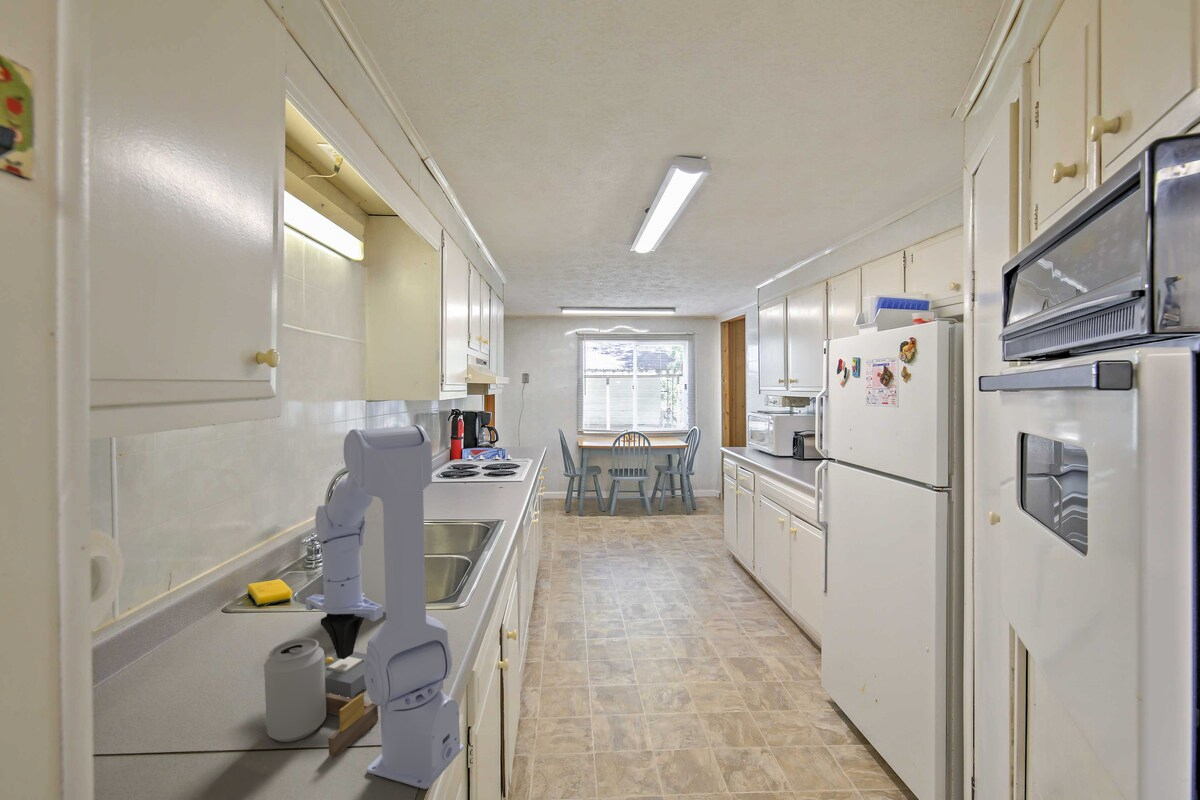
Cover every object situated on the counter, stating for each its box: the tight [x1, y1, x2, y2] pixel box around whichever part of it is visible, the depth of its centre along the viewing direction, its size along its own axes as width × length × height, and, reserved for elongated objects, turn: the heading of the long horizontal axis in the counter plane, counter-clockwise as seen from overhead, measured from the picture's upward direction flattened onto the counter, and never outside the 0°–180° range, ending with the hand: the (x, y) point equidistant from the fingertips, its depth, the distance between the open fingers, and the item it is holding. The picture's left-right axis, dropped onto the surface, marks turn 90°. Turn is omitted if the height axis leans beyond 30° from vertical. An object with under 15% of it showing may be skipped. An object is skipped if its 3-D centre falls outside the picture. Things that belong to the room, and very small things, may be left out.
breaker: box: [328, 657, 362, 674], centre depth 90 cm, size 4×4×2 cm
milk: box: [360, 496, 386, 613], centre depth 122 cm, size 12×12×26 cm
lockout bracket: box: [326, 692, 379, 758], centre depth 77 cm, size 10×8×6 cm
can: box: [263, 637, 327, 743], centre depth 77 cm, size 8×8×12 cm
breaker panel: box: [324, 651, 367, 699], centre depth 90 cm, size 10×8×3 cm
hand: (345, 655), depth 90 cm, fingers closed
